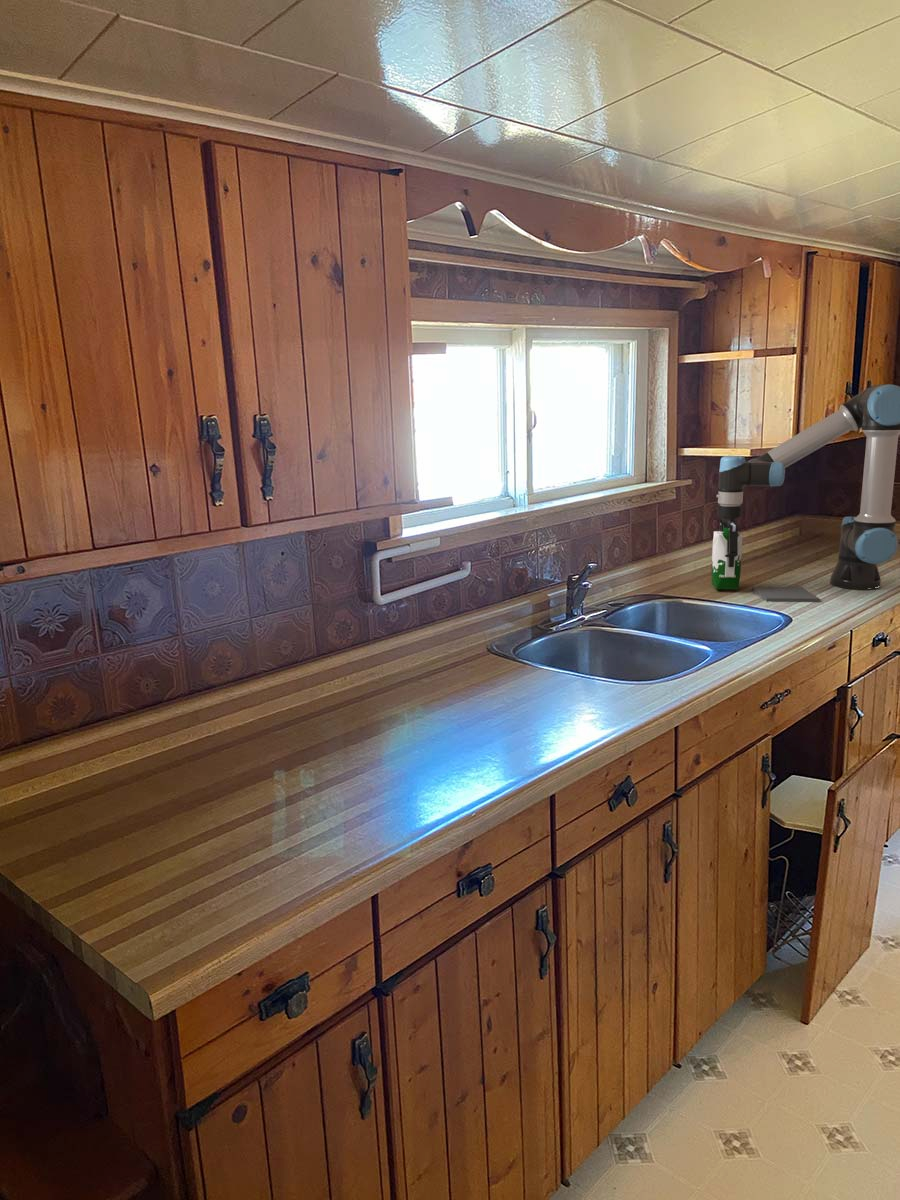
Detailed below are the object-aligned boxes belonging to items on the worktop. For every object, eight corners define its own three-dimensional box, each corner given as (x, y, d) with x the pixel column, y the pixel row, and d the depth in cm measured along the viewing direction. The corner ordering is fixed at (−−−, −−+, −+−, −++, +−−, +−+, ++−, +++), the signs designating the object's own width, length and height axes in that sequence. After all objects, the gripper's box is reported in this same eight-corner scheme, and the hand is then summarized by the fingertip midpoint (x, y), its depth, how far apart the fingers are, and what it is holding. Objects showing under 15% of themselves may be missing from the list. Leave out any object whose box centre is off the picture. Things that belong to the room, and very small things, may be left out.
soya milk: (714, 589, 270) (717, 528, 266) (708, 583, 279) (711, 524, 275) (741, 589, 270) (745, 528, 265) (735, 583, 278) (739, 524, 274)
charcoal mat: (801, 590, 273) (801, 587, 273) (819, 601, 258) (819, 598, 257) (751, 589, 274) (751, 586, 274) (766, 601, 259) (766, 598, 258)
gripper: (709, 500, 279) (706, 566, 284) (726, 509, 258) (722, 580, 263) (732, 500, 278) (728, 566, 284) (751, 508, 257) (746, 580, 263)
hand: (725, 573), depth 273 cm, fingers closed on soya milk, 9 cm apart
